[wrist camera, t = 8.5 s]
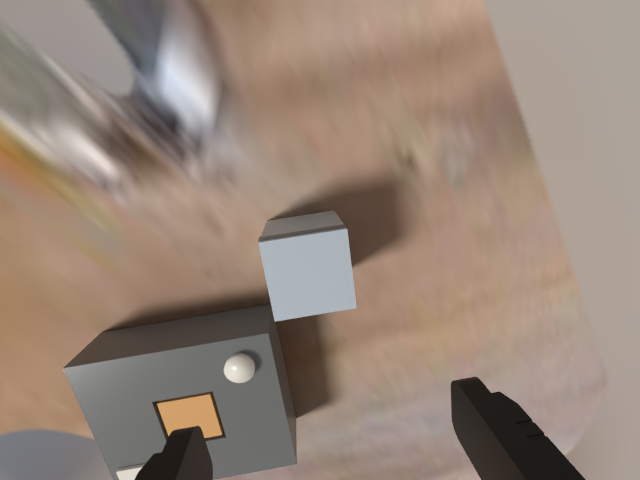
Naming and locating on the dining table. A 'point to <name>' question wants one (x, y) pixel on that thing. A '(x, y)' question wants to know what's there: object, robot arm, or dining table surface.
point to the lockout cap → (307, 265)
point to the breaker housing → (189, 389)
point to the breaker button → (192, 413)
